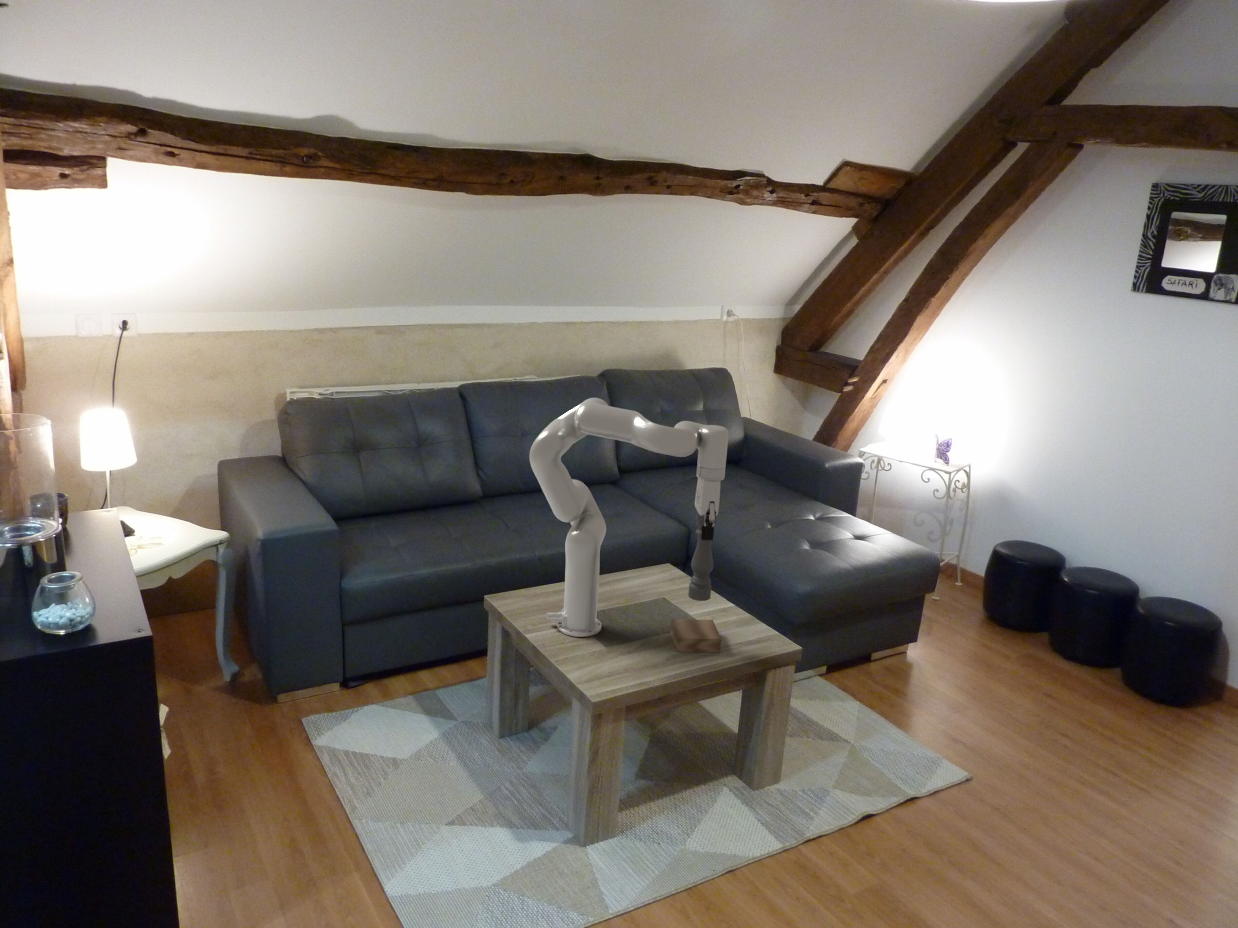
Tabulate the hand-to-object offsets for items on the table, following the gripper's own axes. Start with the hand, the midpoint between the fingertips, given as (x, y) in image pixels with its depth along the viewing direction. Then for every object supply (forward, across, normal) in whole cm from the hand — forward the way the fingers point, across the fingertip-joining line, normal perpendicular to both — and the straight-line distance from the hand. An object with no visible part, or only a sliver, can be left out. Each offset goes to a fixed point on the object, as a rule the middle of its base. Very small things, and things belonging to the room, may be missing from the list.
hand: (704, 535), depth 259 cm
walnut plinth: (+32, 0, 0) cm, 32 cm away
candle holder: (+18, 0, 0) cm, 18 cm away
